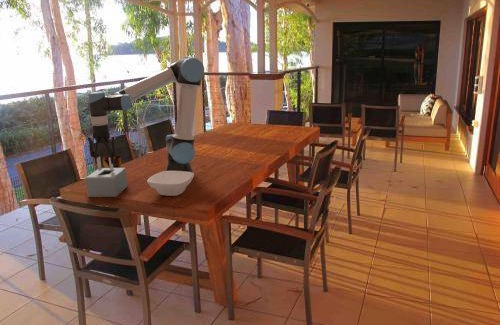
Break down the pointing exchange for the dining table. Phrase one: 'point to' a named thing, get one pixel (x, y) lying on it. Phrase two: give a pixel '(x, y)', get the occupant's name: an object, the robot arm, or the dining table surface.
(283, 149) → the dining table surface
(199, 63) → the robot arm
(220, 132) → the dining table surface
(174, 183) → the bowl
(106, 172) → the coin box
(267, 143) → the dining table surface
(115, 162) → the mug
